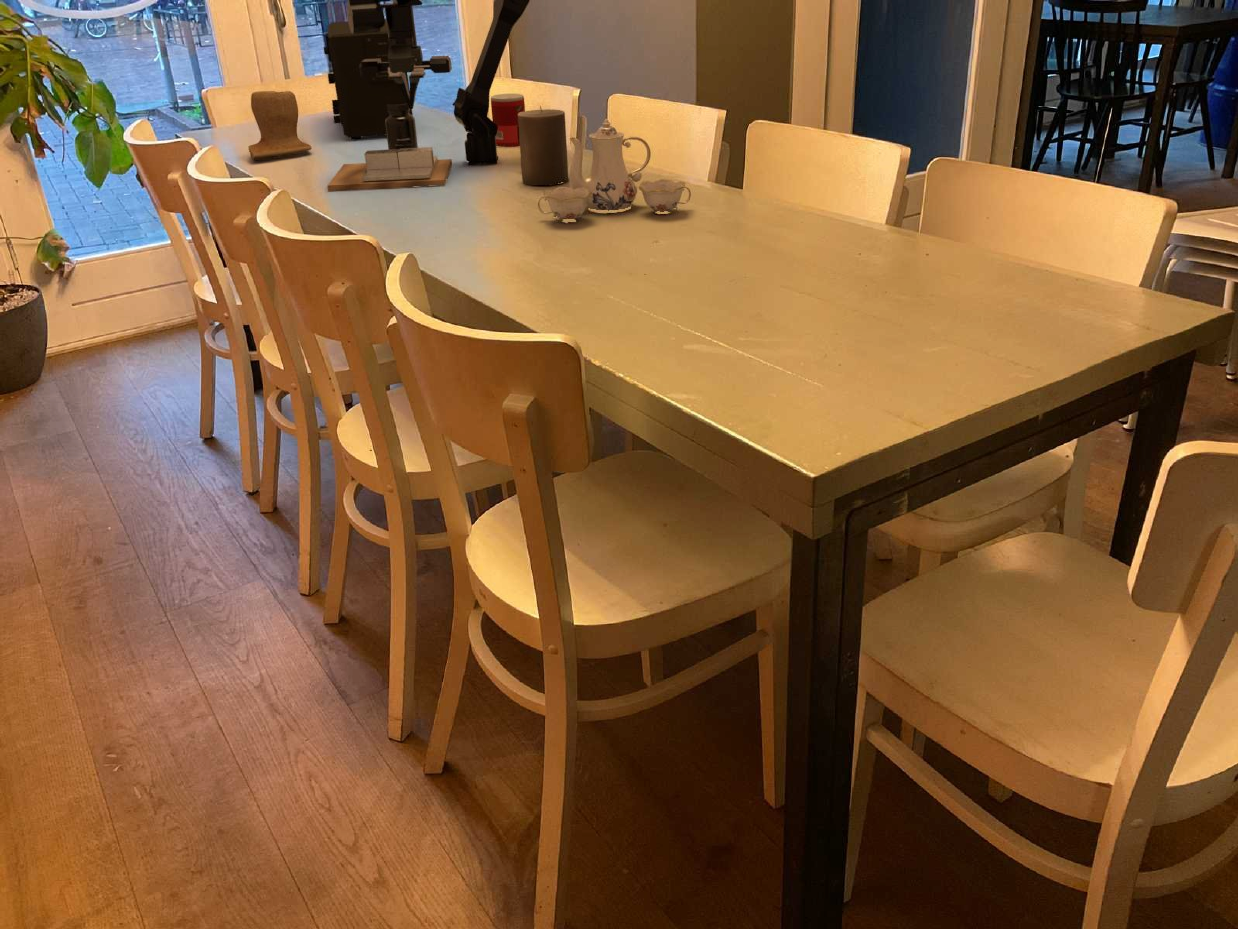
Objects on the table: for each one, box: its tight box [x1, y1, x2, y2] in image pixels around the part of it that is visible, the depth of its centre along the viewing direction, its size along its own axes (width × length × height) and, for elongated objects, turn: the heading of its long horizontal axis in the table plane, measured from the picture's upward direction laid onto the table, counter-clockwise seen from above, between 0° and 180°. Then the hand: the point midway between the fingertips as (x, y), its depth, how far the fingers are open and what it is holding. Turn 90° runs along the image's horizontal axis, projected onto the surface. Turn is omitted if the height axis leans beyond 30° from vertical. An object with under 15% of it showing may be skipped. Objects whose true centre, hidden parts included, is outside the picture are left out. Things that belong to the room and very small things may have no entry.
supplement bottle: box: [385, 102, 419, 150], centre depth 235 cm, size 7×7×12 cm
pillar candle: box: [518, 106, 569, 186], centre depth 209 cm, size 10×10×15 cm
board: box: [327, 158, 453, 192], centre depth 220 cm, size 24×20×1 cm
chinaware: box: [537, 118, 692, 220], centre depth 185 cm, size 28×17×17 cm, turn 106°
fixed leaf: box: [398, 146, 439, 171], centre depth 221 cm, size 14×11×4 cm
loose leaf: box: [362, 149, 433, 181], centre depth 215 cm, size 14×11×4 cm
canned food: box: [490, 93, 526, 147], centre depth 245 cm, size 8×8×11 cm
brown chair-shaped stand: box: [247, 90, 313, 161], centre depth 240 cm, size 15×12×15 cm
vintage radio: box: [323, 18, 414, 141], centre depth 267 cm, size 38×20×25 cm, turn 15°
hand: (411, 108), depth 219 cm, fingers closed
